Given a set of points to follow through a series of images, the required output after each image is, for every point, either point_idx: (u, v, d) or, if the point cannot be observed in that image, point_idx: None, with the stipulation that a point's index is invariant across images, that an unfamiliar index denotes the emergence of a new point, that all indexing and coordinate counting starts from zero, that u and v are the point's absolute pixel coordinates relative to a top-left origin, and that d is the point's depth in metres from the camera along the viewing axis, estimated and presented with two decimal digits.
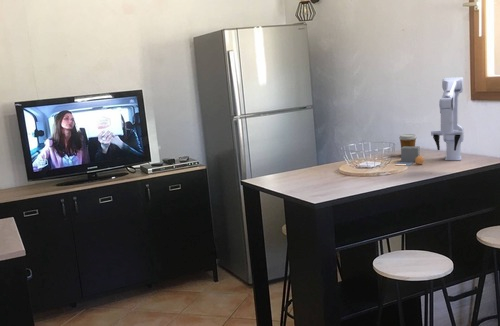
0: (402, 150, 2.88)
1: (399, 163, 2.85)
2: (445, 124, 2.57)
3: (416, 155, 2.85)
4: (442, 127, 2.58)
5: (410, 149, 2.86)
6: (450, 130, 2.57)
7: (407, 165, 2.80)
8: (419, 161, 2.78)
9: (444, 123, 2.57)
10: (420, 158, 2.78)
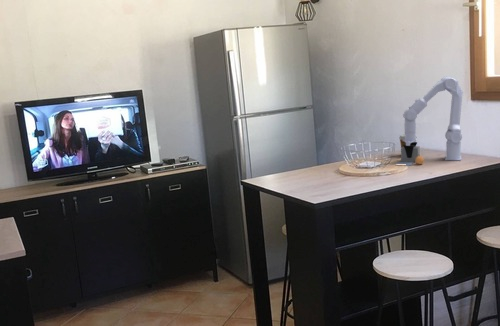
0: (402, 150, 2.88)
1: (399, 163, 2.85)
2: None
3: (416, 155, 2.85)
4: None
5: None
6: (405, 138, 2.87)
7: (407, 165, 2.80)
8: (419, 161, 2.78)
9: None
10: (420, 158, 2.78)
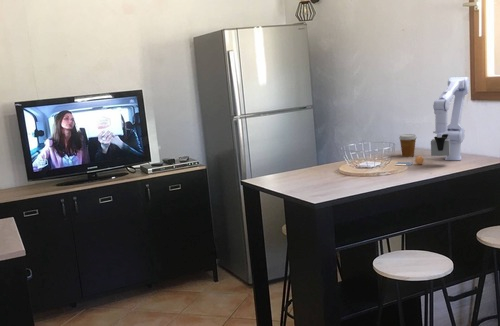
0: (432, 143, 2.73)
1: (399, 163, 2.85)
2: None
3: (447, 148, 2.70)
4: None
5: None
6: (436, 130, 2.72)
7: (407, 165, 2.80)
8: (419, 161, 2.78)
9: None
10: (420, 158, 2.78)
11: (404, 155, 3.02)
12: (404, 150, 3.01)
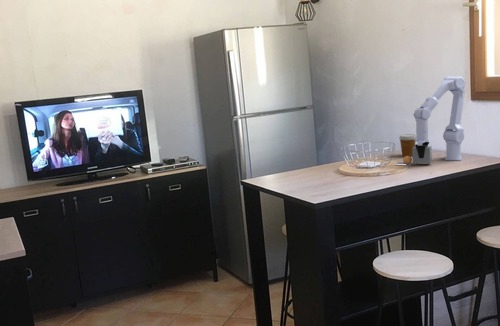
0: (413, 150, 2.78)
1: (399, 163, 2.85)
2: None
3: (428, 155, 2.75)
4: None
5: None
6: (417, 138, 2.77)
7: (407, 165, 2.80)
8: (406, 160, 2.81)
9: None
10: (404, 162, 2.82)
11: (404, 155, 3.02)
12: (404, 150, 3.01)
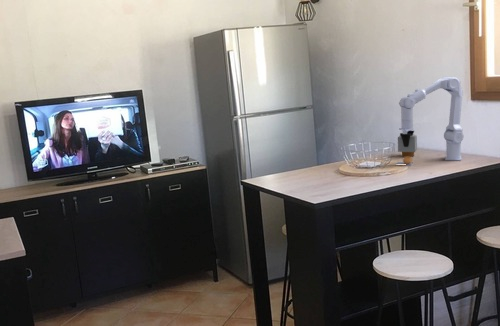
0: (399, 139, 2.80)
1: (399, 163, 2.85)
2: None
3: (413, 144, 2.77)
4: None
5: None
6: (402, 127, 2.79)
7: (407, 165, 2.80)
8: (406, 160, 2.81)
9: None
10: (404, 162, 2.82)
11: (404, 155, 3.02)
12: None
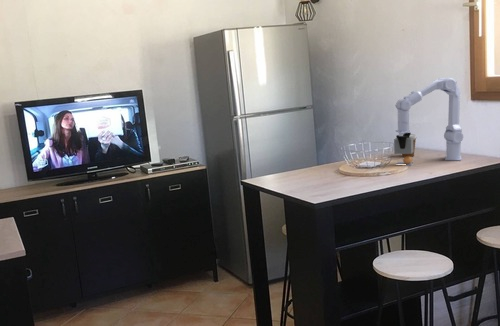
0: (395, 141, 2.81)
1: (399, 163, 2.85)
2: None
3: (409, 146, 2.78)
4: None
5: None
6: (398, 129, 2.80)
7: (407, 165, 2.80)
8: (406, 160, 2.81)
9: None
10: (404, 162, 2.82)
11: (404, 155, 3.02)
12: None
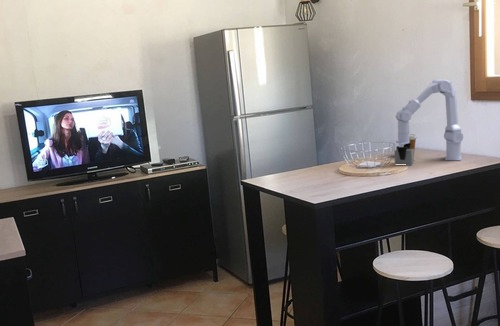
0: (396, 153, 2.82)
1: None
2: None
3: (410, 158, 2.79)
4: None
5: None
6: (398, 140, 2.81)
7: (407, 165, 2.80)
8: None
9: None
10: None
11: None
12: None
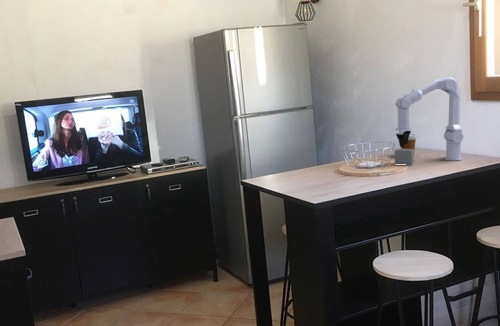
0: (396, 153, 2.82)
1: None
2: None
3: (410, 158, 2.79)
4: None
5: (404, 152, 2.80)
6: (398, 127, 2.80)
7: (407, 165, 2.80)
8: None
9: None
10: None
11: None
12: None
